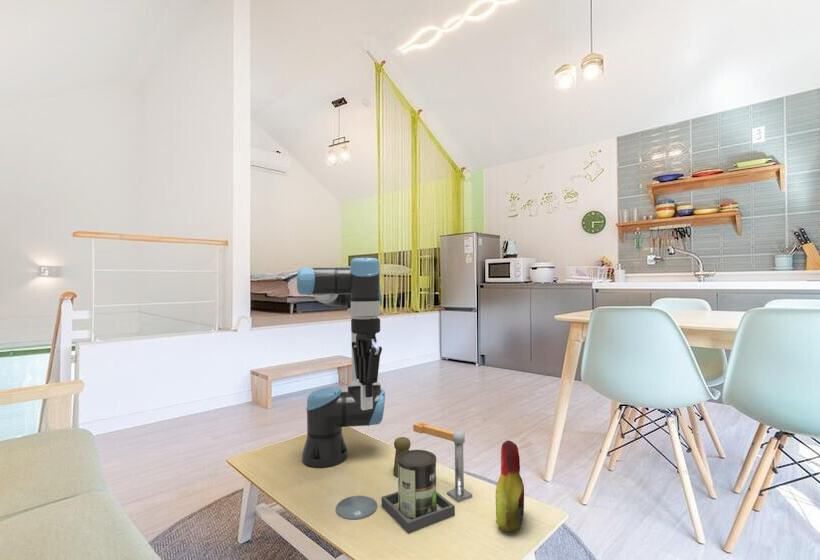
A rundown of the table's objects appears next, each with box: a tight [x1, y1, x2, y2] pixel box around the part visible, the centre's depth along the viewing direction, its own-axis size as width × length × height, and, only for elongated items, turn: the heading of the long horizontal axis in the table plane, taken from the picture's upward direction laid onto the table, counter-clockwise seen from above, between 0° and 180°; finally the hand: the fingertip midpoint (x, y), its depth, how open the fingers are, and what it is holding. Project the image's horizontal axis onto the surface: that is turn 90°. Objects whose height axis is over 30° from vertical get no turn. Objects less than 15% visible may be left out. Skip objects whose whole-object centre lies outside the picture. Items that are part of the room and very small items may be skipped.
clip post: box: [446, 443, 473, 503], centre depth 114 cm, size 5×5×15 cm
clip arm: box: [412, 421, 466, 444], centre depth 118 cm, size 3×17×3 cm, turn 51°
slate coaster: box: [335, 495, 378, 521], centre depth 108 cm, size 11×11×1 cm
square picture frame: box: [381, 491, 456, 535], centre depth 106 cm, size 14×14×2 cm
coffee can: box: [397, 449, 438, 520], centre depth 106 cm, size 10×10×14 cm
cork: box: [392, 436, 411, 479], centre depth 127 cm, size 6×6×11 cm
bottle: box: [495, 440, 525, 532], centre depth 101 cm, size 12×6×20 cm, turn 149°
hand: (366, 408), depth 105 cm, fingers closed
